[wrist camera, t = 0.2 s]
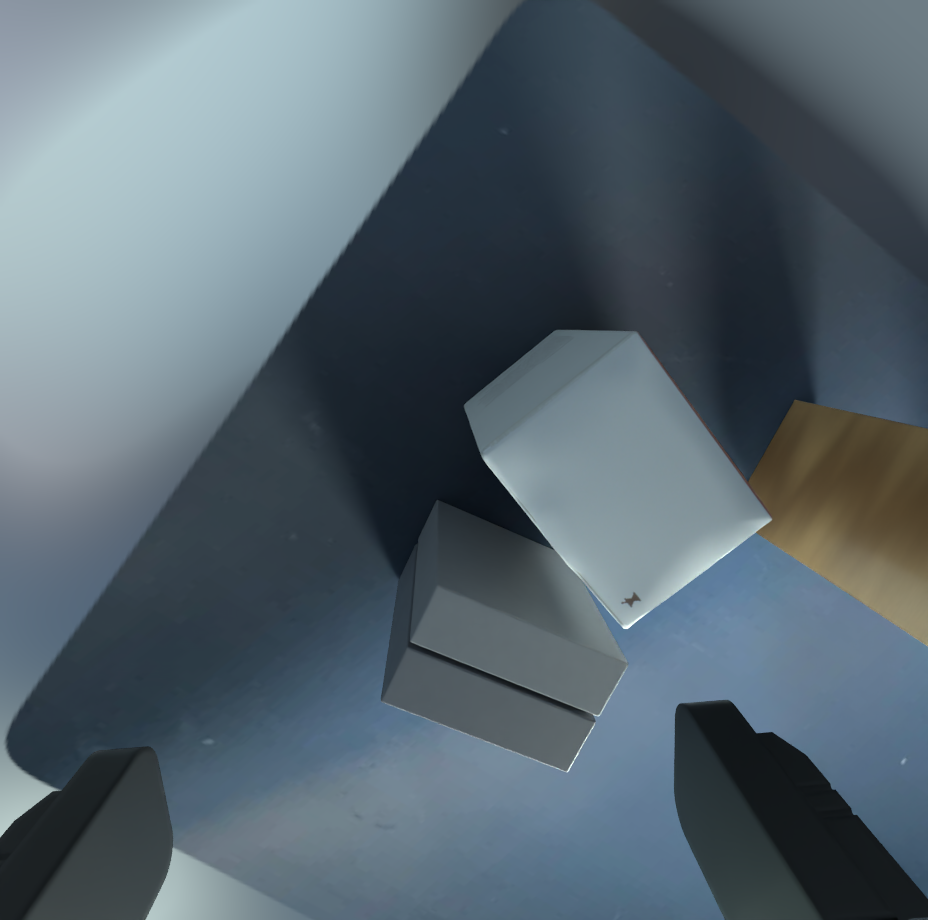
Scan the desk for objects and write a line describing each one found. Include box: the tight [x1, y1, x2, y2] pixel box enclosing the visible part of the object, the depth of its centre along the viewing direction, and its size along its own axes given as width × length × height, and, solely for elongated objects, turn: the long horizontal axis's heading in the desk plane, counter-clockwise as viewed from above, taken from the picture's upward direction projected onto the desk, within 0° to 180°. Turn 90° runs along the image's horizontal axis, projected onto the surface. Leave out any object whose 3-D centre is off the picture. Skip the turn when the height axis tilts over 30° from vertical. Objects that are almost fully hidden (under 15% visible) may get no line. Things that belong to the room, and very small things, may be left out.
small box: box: [464, 330, 772, 629], centre depth 26 cm, size 8×6×13 cm
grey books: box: [381, 500, 628, 772], centre depth 29 cm, size 5×8×11 cm, turn 65°
